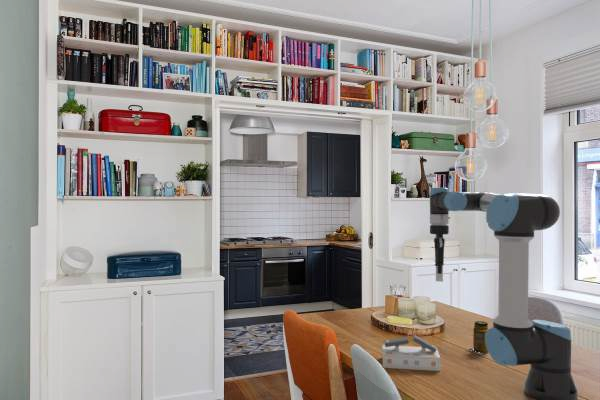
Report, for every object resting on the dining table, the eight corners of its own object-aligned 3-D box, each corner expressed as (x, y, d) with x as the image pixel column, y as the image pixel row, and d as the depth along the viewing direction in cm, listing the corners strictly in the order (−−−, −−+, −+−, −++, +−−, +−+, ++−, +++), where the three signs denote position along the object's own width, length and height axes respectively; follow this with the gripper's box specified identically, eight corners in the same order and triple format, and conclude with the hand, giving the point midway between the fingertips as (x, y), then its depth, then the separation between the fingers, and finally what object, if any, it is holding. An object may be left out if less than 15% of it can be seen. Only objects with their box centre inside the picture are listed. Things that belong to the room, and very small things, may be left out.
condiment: (493, 351, 199) (493, 322, 199) (480, 355, 194) (480, 325, 194) (478, 347, 205) (478, 319, 205) (465, 350, 200) (465, 322, 200)
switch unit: (440, 371, 175) (440, 352, 175) (382, 367, 178) (382, 349, 178) (436, 360, 187) (436, 342, 187) (382, 357, 190) (382, 340, 190)
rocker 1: (409, 343, 181) (408, 339, 181) (385, 347, 182) (384, 343, 182) (408, 340, 185) (407, 336, 185) (385, 344, 186) (384, 340, 187)
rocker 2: (434, 352, 179) (436, 349, 179) (413, 340, 180) (415, 337, 180) (433, 349, 183) (435, 345, 183) (412, 337, 185) (414, 334, 185)
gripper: (450, 225, 192) (450, 283, 191) (446, 224, 204) (446, 279, 204) (431, 225, 193) (431, 283, 193) (428, 223, 206) (428, 278, 205)
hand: (439, 281), depth 198 cm, fingers closed
